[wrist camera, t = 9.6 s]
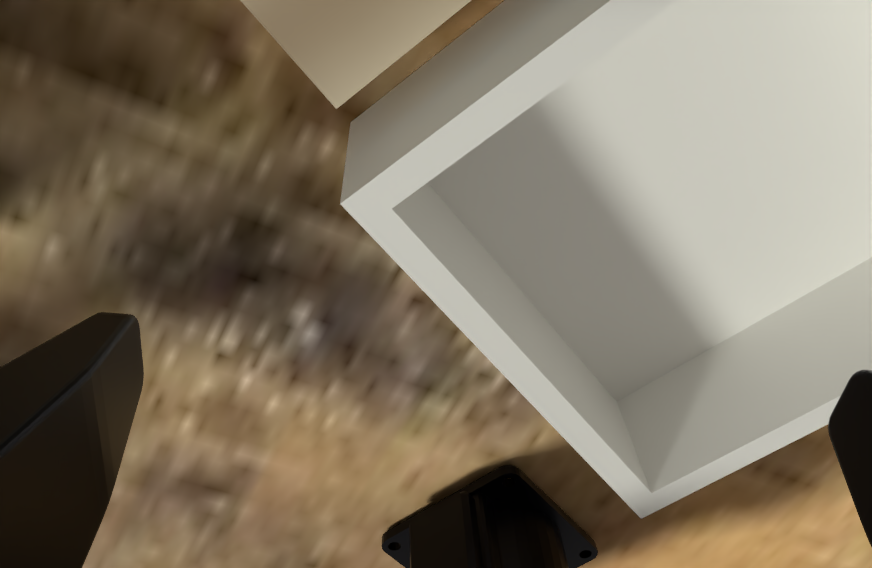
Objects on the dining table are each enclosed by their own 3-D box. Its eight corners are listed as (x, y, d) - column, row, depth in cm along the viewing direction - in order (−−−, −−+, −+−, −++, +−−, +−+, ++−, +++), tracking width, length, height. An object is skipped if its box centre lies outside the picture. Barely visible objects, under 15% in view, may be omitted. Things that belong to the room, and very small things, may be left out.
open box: (984, 189, 23) (1120, 276, 18) (601, 406, 27) (641, 519, 22) (816, -247, 16) (962, -266, 12) (350, 122, 20) (340, 203, 16)
